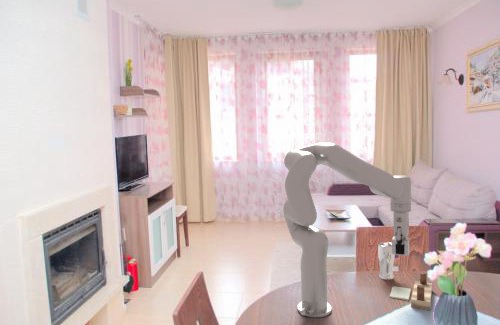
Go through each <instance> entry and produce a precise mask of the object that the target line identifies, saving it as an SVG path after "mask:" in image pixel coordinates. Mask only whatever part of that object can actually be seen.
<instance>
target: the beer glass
mask: <svg viewBox="0 0 500 325" xmlns="http://www.w3.org/2000/svg"><path fill="white" fill-rule="evenodd" d="M395 256H396V255H395V254H392V242H386V241H384V242H383V241H382V242H379V243H378V246H377V257H378V264H379V273H378V274H379V275H378V277H379V278H380V279H382V280H384V281H391V280H393V279H394V271H393V268H394V263H395Z"/></svg>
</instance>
